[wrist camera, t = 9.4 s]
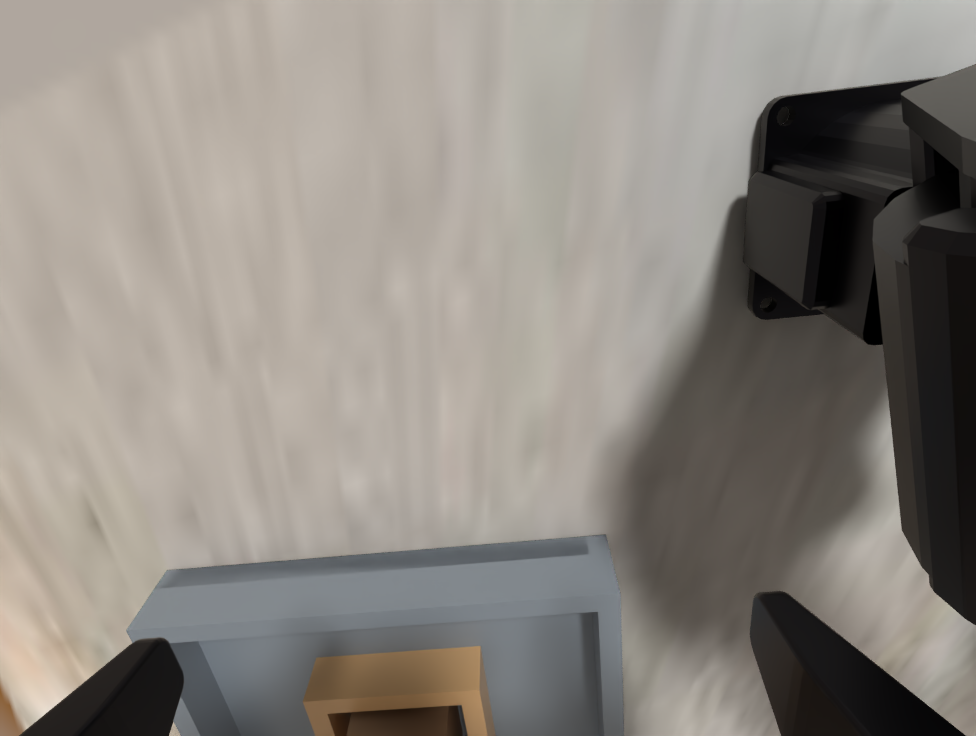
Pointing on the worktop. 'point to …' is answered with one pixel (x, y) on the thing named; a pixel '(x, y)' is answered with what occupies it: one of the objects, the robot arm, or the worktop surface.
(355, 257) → the worktop surface
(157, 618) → the box
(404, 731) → the brown rectangular block
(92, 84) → the worktop surface
